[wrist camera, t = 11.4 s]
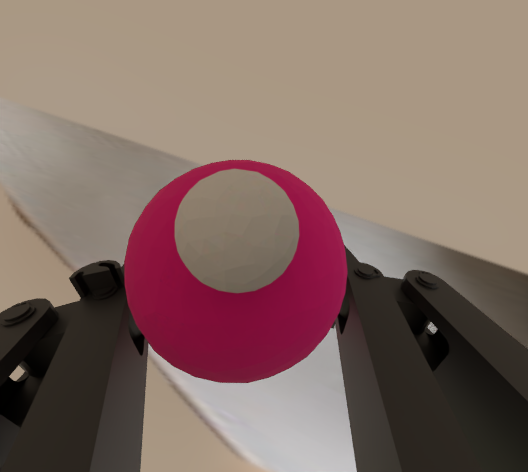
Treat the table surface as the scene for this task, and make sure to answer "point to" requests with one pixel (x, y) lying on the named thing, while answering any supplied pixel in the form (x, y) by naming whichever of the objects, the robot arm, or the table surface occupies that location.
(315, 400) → the table surface
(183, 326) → the pepper mill
